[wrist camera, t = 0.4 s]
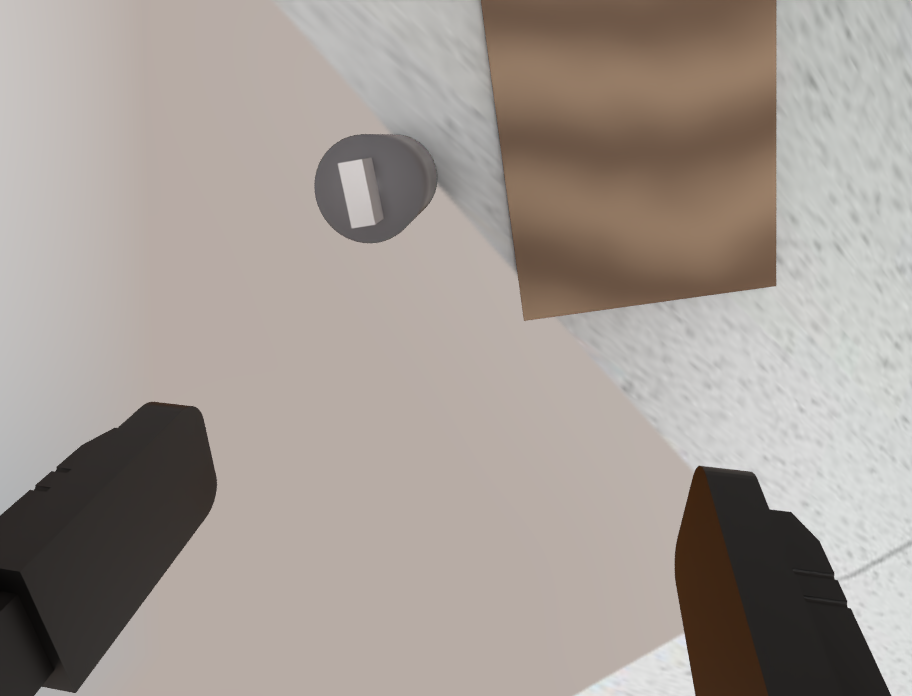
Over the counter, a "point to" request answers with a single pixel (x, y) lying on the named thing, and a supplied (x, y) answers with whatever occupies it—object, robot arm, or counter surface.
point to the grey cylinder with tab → (374, 185)
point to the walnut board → (636, 148)
